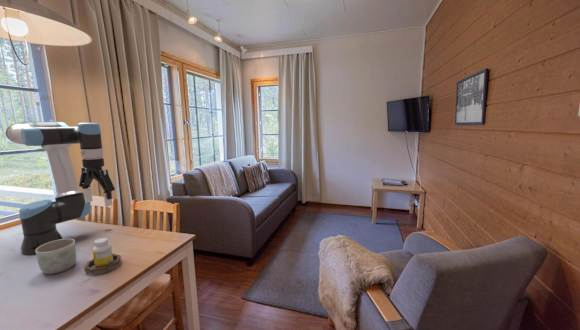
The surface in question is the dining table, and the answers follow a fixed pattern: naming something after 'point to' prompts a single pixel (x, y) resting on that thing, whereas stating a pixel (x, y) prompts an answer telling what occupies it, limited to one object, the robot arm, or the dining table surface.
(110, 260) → the pill bottle
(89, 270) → the holder
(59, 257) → the planter
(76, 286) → the dining table surface
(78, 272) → the dining table surface
